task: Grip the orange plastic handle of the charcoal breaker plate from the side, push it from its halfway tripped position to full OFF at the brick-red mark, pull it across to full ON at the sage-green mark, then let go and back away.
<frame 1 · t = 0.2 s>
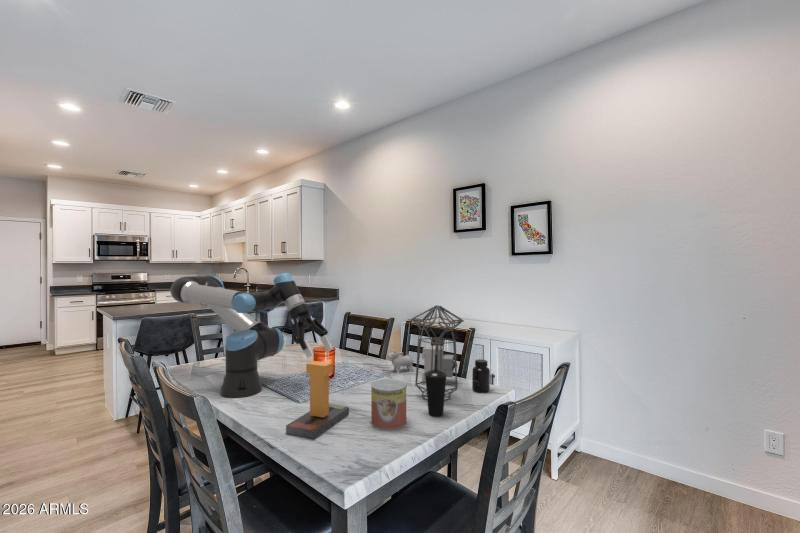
hand: (320, 353, 153), 15 cm above the table, tool tilted 35°, fingers open, 13 cm apart
switch plate: (319, 423, 121), on the table
circuit breaker: (440, 383, 163), on the table
canned food: (388, 423, 122), on the table
geometric lantern: (437, 397, 145), on the table
supplement bottle: (481, 391, 153), on the table
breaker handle: (319, 389, 121), point 11 cm above the table, slide at 0.0 cm
drinking cup: (435, 414, 129), on the table
dog figurine: (400, 371, 181), on the table
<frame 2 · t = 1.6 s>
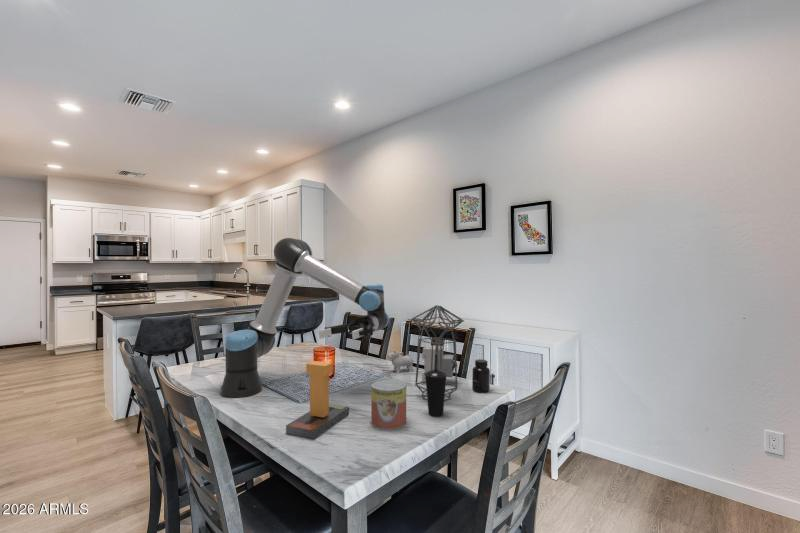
hand: (336, 335, 133), 26 cm above the table, tool horizontal, fingers open, 13 cm apart
nothing on the table moved.
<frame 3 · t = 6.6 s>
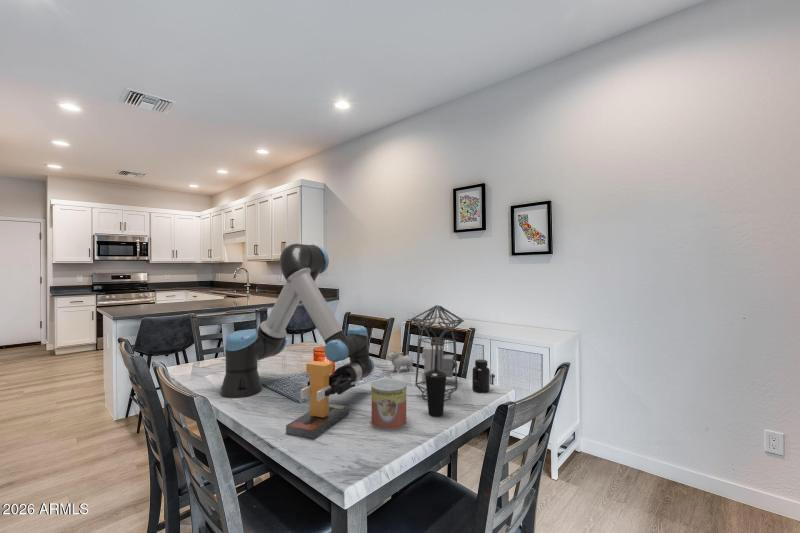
hand: (309, 395, 116), 11 cm above the table, tool horizontal, fingers closed on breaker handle, 5 cm apart
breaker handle: (319, 389, 121), point 11 cm above the table, slide at 0.0 cm, touching gripper
everything else where it was.
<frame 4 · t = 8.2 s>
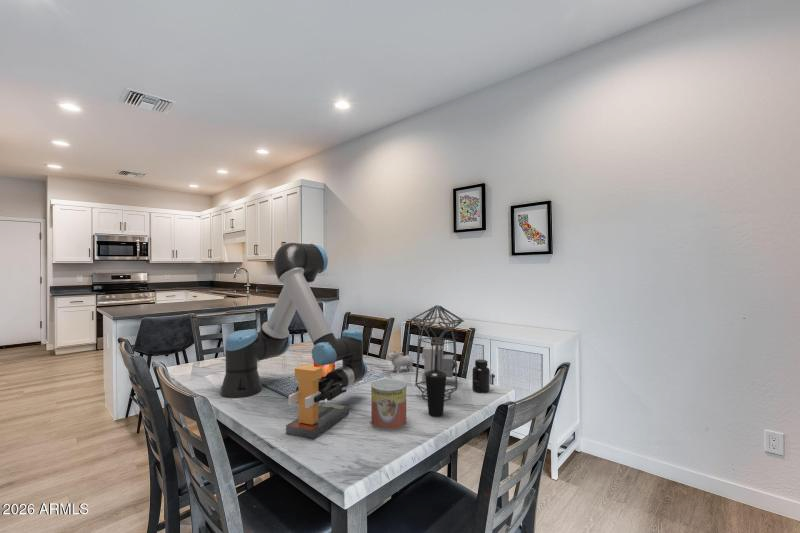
hand: (297, 401, 111), 11 cm above the table, tool horizontal, fingers closed on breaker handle, 5 cm apart
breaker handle: (308, 394, 115), point 11 cm above the table, slide at -5.9 cm, touching gripper
everything else where it was.
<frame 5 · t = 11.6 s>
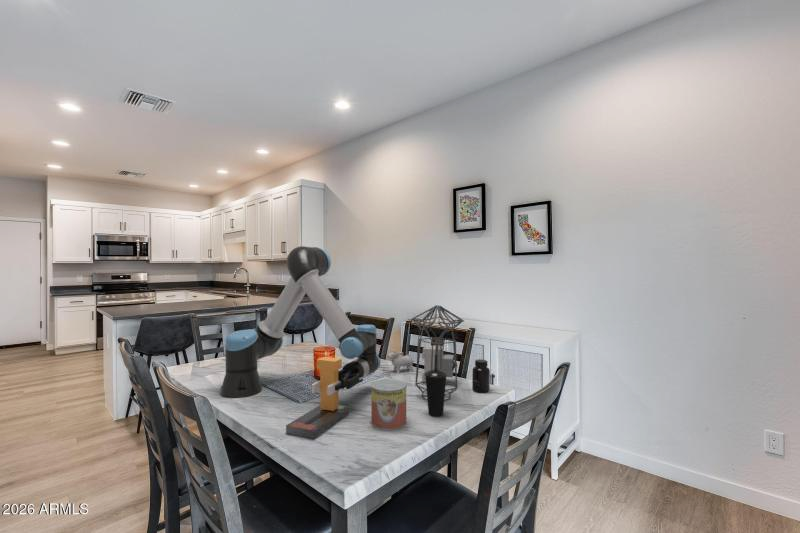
hand: (320, 389, 121), 10 cm above the table, tool horizontal, fingers closed on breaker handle, 5 cm apart
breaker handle: (329, 383, 126), point 11 cm above the table, slide at 5.8 cm, touching gripper
everything else where it was.
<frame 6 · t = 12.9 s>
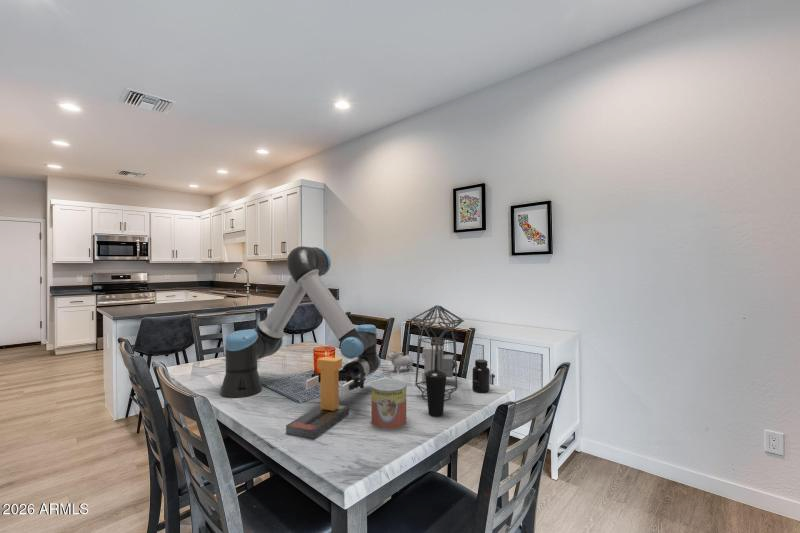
hand: (324, 387, 123), 10 cm above the table, tool horizontal, fingers open, 13 cm apart
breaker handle: (329, 383, 126), point 11 cm above the table, slide at 6.0 cm
everything else where it was.
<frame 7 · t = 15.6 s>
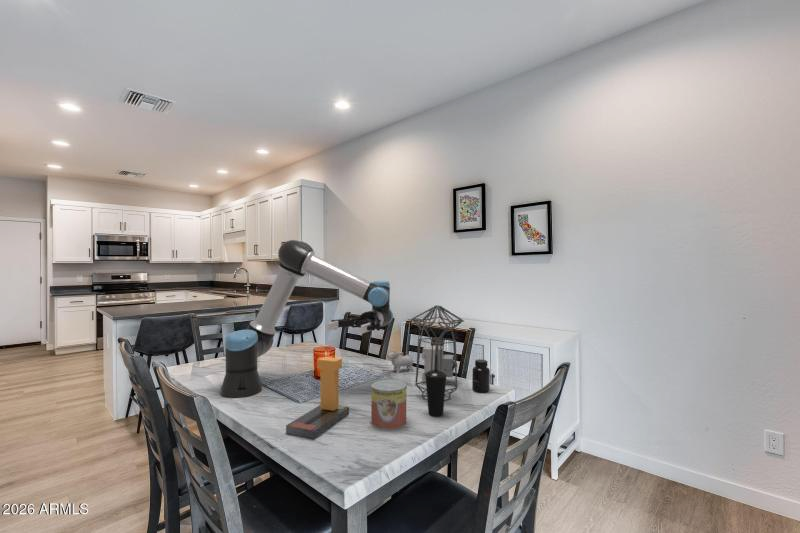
hand: (344, 328, 135), 28 cm above the table, tool horizontal, fingers open, 13 cm apart
nothing on the table moved.
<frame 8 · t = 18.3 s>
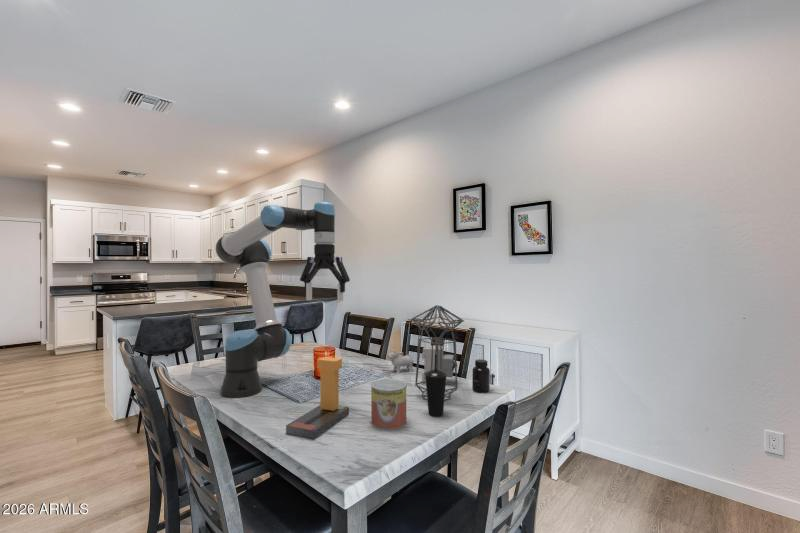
hand: (324, 300, 144), 37 cm above the table, tool pointing down, fingers open, 13 cm apart
nothing on the table moved.
at the end: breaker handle slide at 6.0 cm; the gripper is holding nothing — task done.
